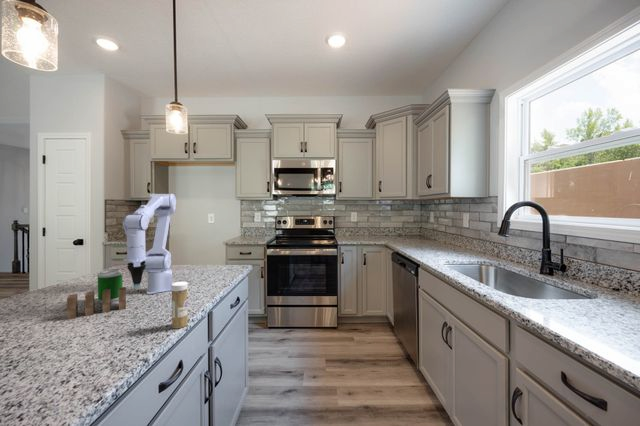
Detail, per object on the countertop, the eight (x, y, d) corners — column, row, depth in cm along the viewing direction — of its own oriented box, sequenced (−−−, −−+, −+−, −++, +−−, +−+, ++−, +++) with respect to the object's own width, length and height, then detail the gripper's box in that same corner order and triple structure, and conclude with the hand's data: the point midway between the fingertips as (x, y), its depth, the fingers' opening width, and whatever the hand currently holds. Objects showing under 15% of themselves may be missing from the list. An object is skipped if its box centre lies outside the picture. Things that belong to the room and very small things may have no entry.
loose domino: (139, 285, 101) (139, 267, 101) (140, 288, 97) (139, 269, 97) (133, 286, 100) (133, 268, 99) (133, 289, 96) (133, 270, 96)
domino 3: (110, 307, 96) (110, 289, 96) (110, 311, 92) (109, 292, 92) (103, 309, 95) (103, 290, 94) (102, 313, 91) (102, 293, 91)
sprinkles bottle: (185, 328, 80) (185, 284, 79) (169, 329, 79) (168, 285, 78) (189, 321, 84) (189, 280, 84) (174, 323, 83) (173, 281, 83)
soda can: (127, 298, 105) (126, 269, 105) (106, 305, 98) (105, 274, 97) (114, 296, 107) (113, 268, 107) (93, 303, 100) (92, 272, 100)
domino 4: (126, 305, 98) (125, 286, 98) (125, 308, 95) (125, 289, 95) (119, 306, 97) (119, 287, 97) (119, 310, 94) (118, 290, 93)
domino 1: (77, 313, 90) (77, 293, 90) (75, 318, 87) (75, 297, 87) (69, 315, 89) (69, 295, 89) (67, 319, 86) (66, 298, 85)
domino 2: (94, 310, 93) (94, 291, 93) (93, 314, 89) (92, 294, 89) (87, 312, 92) (86, 292, 92) (85, 316, 88) (85, 295, 88)
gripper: (123, 245, 102) (124, 279, 102) (122, 250, 90) (123, 289, 90) (145, 243, 106) (145, 276, 106) (146, 248, 94) (147, 285, 94)
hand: (137, 282), depth 98 cm, fingers closed on loose domino, 4 cm apart
